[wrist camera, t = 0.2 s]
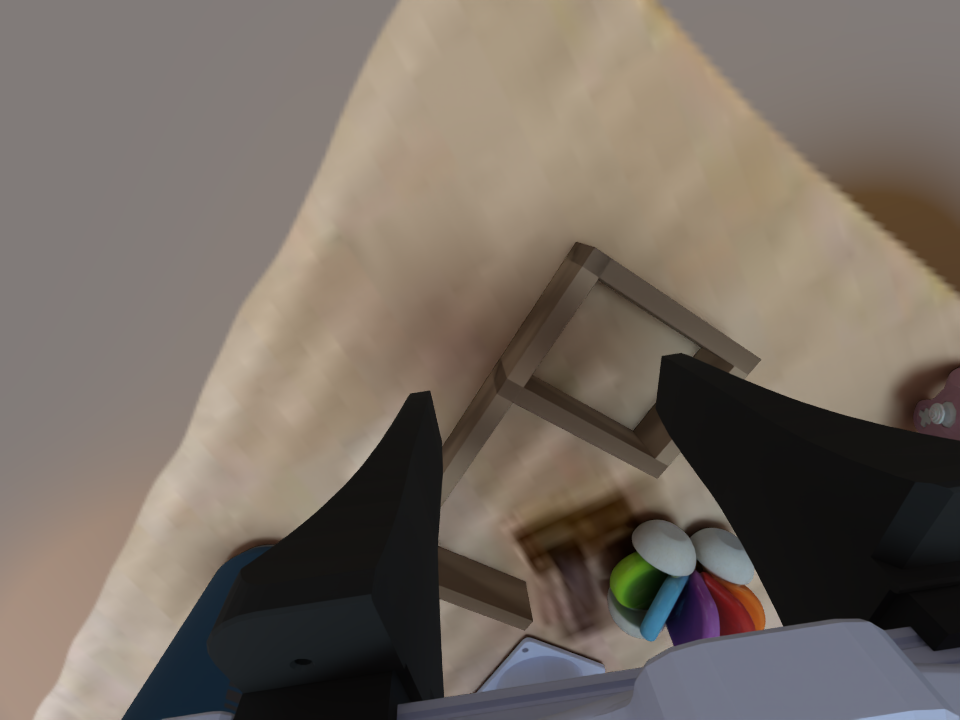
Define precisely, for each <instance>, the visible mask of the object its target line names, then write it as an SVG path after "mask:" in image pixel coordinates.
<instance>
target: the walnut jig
mask: <svg viewBox="0 0 960 720" xmlns="http://www.w3.org/2000/svg"><path fill="white" fill-rule="evenodd" d="M597 280H599V281H600V282H602V283H604V284H605V285H607V286H608V287H610V288H611V289H613V290H614V291H616V292H617V293H619V294H620V295H622V296H623V297H625V298H627V299H628V300H630V301H631V302H633V303H634V304H636V305H637V306H639V307H640V308H642V309H643V310H645V311H647V312H648V313H650V314H651V315H653V316H654V317H656V318H657V319H659V320H660V321H662V322H663V323H665V324H666V325H668V326H670V327H671V328H673V329H674V330H676V331H677V332H679V333H680V334H682V335H683V336H685V337H686V338H688V339H690V340H691V341H693V342H694V343H696V344H697V345H699V346H700V347H702V348H701V349H700V350H699V351H698V353H697V354H696V355H695V356H694V357H693V358H696V359H698V360H701V361H703V362H705V363H708V364H710V365H712V366H714V367H717V368H719V369H721V370H723V371H726V372H728V373H730V374H732V375H735V376H737V377H739V378H742V379H745V378H746V377H747V376H748V374H749V373H750V372H751V371H752V370H753V369H754V368H755V366H756V365H757V364H758V363H759V362H760V361H761V359H760V358H758V357H757V356H756V355H754V354H753V353H751V352H750V351H748V350H747V349H745V348H744V347H742V346H741V345H739V344H738V343H736V342H735V341H733V340H732V339H730V338H729V337H727V336H726V335H724V334H723V333H721V332H720V331H718V330H717V329H715V328H714V327H712V326H711V325H709V324H708V323H707V322H705V321H704V320H702V319H701V318H699V317H698V316H696V315H695V314H693V313H692V312H690V311H689V310H687V309H686V308H684V307H683V306H681V305H680V304H678V303H677V302H675V301H674V300H672V299H671V298H669V297H668V296H666V295H665V294H663V293H662V292H660V291H659V290H658V289H656V288H655V287H653V286H652V285H650V284H649V283H647V282H646V281H644V280H643V279H641V278H640V277H638V276H637V275H635V274H634V273H632V272H631V271H629V270H628V269H626V268H625V267H623V266H622V265H620V264H619V263H617V262H616V261H614V260H613V259H611V258H610V257H609V256H607V255H606V254H604V253H603V252H601V251H600V250H598V249H597V248H595V247H592V246H588V245H585V244H582V243H578V242H576V243H575V245H574V246H573V248H572V249H571V251H570V252H569V254H568V256H567V257H566V259H565V260H564V262H563V263H562V265H561V266H560V268H559V269H558V271H557V272H556V274H555V275H554V277H553V279H552V280H551V282H550V283H549V285H548V286H547V288H546V289H545V291H544V292H543V294H542V295H541V297H540V298H539V300H538V301H537V303H536V305H535V306H534V308H533V309H532V311H531V312H530V314H529V315H528V317H527V318H526V320H525V321H524V323H523V324H522V326H521V327H520V329H519V331H518V332H517V334H516V335H515V337H514V338H513V340H512V341H511V343H510V344H509V346H508V347H507V349H506V350H505V352H504V353H503V355H502V357H501V358H500V360H499V361H498V363H497V364H496V366H495V367H494V369H493V370H492V372H491V373H490V375H489V376H488V378H487V379H486V381H485V383H484V384H483V386H482V387H481V389H480V390H479V392H478V393H477V395H476V396H475V398H474V399H473V401H472V402H471V404H470V405H469V407H468V409H467V410H466V412H465V413H464V415H463V416H462V418H461V419H460V421H459V422H458V424H457V425H456V427H455V428H454V430H453V432H452V433H451V435H450V436H449V438H448V439H447V441H446V442H445V444H444V445H443V447H442V455H443V480H442V494H441V506H442V505H443V503H444V502H445V500H446V499H447V497H448V496H449V495H450V493H451V492H452V490H453V489H454V487H455V486H456V484H457V483H458V481H459V480H460V479H461V477H462V476H463V474H464V473H465V471H466V470H467V468H468V467H469V466H470V464H471V463H472V461H473V460H474V458H475V457H476V455H477V454H478V452H479V451H480V450H481V448H482V447H483V445H484V444H485V442H486V441H487V439H488V438H489V437H490V435H491V434H492V432H493V431H494V429H495V428H496V426H497V425H498V424H499V422H500V421H501V419H502V418H503V416H504V415H505V413H506V412H507V410H508V409H509V408H510V406H511V405H512V403H515V404H517V405H518V406H520V407H522V408H524V409H526V410H528V411H530V412H532V413H534V414H536V415H537V416H539V417H541V418H543V419H545V420H547V421H549V422H551V423H553V424H554V425H556V426H558V427H560V428H562V429H564V430H566V431H568V432H570V433H572V434H573V435H575V436H577V437H579V438H581V439H583V440H585V441H587V442H589V443H590V444H592V445H594V446H596V447H598V448H600V449H602V450H604V451H606V452H608V453H609V454H611V455H613V456H615V457H617V458H619V459H621V460H623V461H625V462H626V463H628V464H630V465H632V466H634V467H636V468H638V469H640V470H642V471H644V472H645V473H647V474H649V475H651V476H653V477H655V478H657V479H658V477H659V476H660V475H661V474H662V473H663V472H664V471H665V469H666V468H667V467H668V466H669V465H670V464H671V463H672V461H673V460H674V459H675V458H676V457H677V456H678V455H679V453H680V450H679V449H678V447H677V446H676V445H675V443H674V442H673V440H672V439H671V437H670V436H669V434H668V432H667V431H666V429H665V427H664V425H663V423H662V421H661V419H660V417H659V415H658V413H657V411H656V409H655V408H656V404H655V405H654V406H653V408H652V409H651V410H650V411H649V413H648V414H647V415H646V416H645V418H644V419H643V420H642V421H641V422H640V424H639V425H638V426H637V427H636V429H635V430H634V431H632V430H630V429H628V428H626V427H625V426H623V425H621V424H619V423H617V422H616V421H614V420H612V419H610V418H608V417H607V416H605V415H603V414H601V413H599V412H598V411H596V410H594V409H592V408H590V407H589V406H587V405H585V404H583V403H581V402H580V401H578V400H576V399H574V398H572V397H570V396H569V395H567V394H565V393H563V392H561V391H560V390H558V389H556V388H554V387H552V386H551V385H549V384H547V383H545V382H543V381H542V380H540V379H538V378H536V377H534V376H533V375H532V374H533V373H534V371H535V370H536V368H537V367H538V366H539V364H540V363H541V361H542V360H543V358H544V357H545V355H546V354H547V352H548V351H549V350H550V348H551V347H552V345H553V344H554V342H555V341H556V339H557V338H558V337H559V335H560V334H561V332H562V331H563V329H564V328H565V326H566V325H567V323H568V322H569V321H570V319H571V318H572V316H573V315H574V313H575V312H576V310H577V309H578V308H579V306H580V305H581V303H582V302H583V300H584V299H585V297H586V296H587V294H588V293H589V292H590V290H591V289H592V287H593V286H594V284H595V283H596V281H597ZM440 508H441V507H440ZM438 573H439V599H442V600H444V601H447V602H450V603H452V604H455V605H458V606H460V607H463V608H466V609H468V610H471V611H474V612H476V613H479V614H482V615H484V616H487V617H490V618H492V619H495V620H498V621H501V622H503V623H506V624H509V625H511V626H514V627H517V628H519V629H522V630H526V629H527V627H528V626H529V625H530V624H531V623H532V622H533V618H532V613H531V608H530V603H529V598H528V592H527V587H526V582H524V581H522V580H519V579H517V578H514V577H512V576H509V575H507V574H504V573H502V572H500V571H497V570H495V569H492V568H490V567H487V566H485V565H482V564H480V563H477V562H475V561H473V560H470V559H468V558H465V557H463V556H460V555H458V554H455V553H453V552H450V551H448V550H446V549H443V548H441V547H438Z"/></svg>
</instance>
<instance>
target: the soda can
mask: <svg viewBox="0 0 960 720" xmlns="http://www.w3.org/2000/svg"><path fill="white" fill-rule="evenodd" d="M273 546H274V545H261V546H257V547H254V548H251V549H249V550H247V551H245V552H243V553H241V554H239V555H237V556H235V557H233V558H232V559H230V560H229V561H227V562H226V563H225V564H223V565H222V566H221V567H220V568H219V569H218V571H217V572H216V574H215V575H214V577H213V578H212V580H211V581H210V583H209V585H208V586H207V588H206V589H205V591H204V592H203V594H202V595H201V597H200V599H199V600H198V602H197V603H196V605H195V606H194V608H193V609H192V611H191V612H190V614H189V616H188V617H187V619H186V620H185V622H184V623H183V625H182V626H181V628H180V630H179V631H178V633H177V634H176V636H175V637H174V639H173V640H172V642H171V643H170V645H169V647H168V648H167V650H166V651H165V653H164V654H163V656H162V657H161V659H160V661H159V662H158V664H157V665H156V667H155V668H154V670H153V671H152V673H151V675H150V676H149V678H148V679H147V681H146V682H145V684H144V685H143V687H142V688H141V690H140V692H139V693H138V695H137V696H136V698H135V699H134V701H133V702H132V704H131V706H130V707H129V709H128V710H127V712H126V713H125V715H124V716H123V718H122V720H162V719H166V718H173V717H179V716H186V715H192V714H199V713H205V712H212V711H224V712H230V713H232V714H234V715H235V713H236V710H237V707H238V704H239V702H240V699H241V696H242V692H241V691H240V690H239V689H238V688H237V687H236V686H235V685H234V684H233V683H232V682H231V681H230V680H229V679H228V678H227V677H226V675H225V674H224V673H223V672H222V671H221V670H220V669H219V668H218V667H217V666H216V665H215V664H214V662H213V661H212V659H211V658H210V656H209V654H208V652H207V643H206V642H207V639H208V637H209V635H210V633H211V631H212V628H213V626H214V624H215V622H216V620H217V617H218V615H219V613H220V611H221V609H222V606H223V604H224V602H225V600H226V597H227V595H228V593H229V590H230V588H231V586H232V585H233V583H234V581H235V579H236V577H237V575H238V573H239V571H240V570H241V568H243V567H244V566H246V565H247V564H249V563H250V562H252V561H253V560H254V559H256V558H257V557H259V556H260V555H262V554H263V553H264V552H266V551H267V550H269V549H270V548H271V547H273Z"/></svg>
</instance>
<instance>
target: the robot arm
mask: <svg viewBox="0 0 960 720" xmlns="http://www.w3.org/2000/svg"><path fill="white" fill-rule="evenodd" d="M655 409H656V411H657V413H658V415H659V417H660V419H661V421H662V423H663V425H664V427H665V429H666V431H667V432H668V434H669V436H670V437H671V439H672V440H673V442H674V443H675V445H676V446H677V447H678V449H679V450H680V452H681V453H682V454H683V456H684V457H685V458H686V460H687V461H688V463H689V464H690V465H691V467H692V468H693V469H694V471H695V472H696V474H697V475H698V476H699V478H700V479H701V480H702V482H703V483H704V484H705V486H706V487H707V489H708V490H709V491H710V493H711V494H712V495H713V497H714V498H715V500H716V501H717V503H718V504H719V506H720V507H721V509H722V511H723V513H724V514H725V516H726V518H727V519H728V521H729V523H730V525H731V526H732V528H733V530H734V532H735V533H736V535H737V537H738V538H739V540H740V542H741V544H742V546H743V548H744V550H745V551H746V553H747V555H748V557H749V559H750V561H751V562H752V564H753V566H754V568H755V570H756V572H757V574H758V576H759V578H760V580H761V582H762V584H763V586H764V588H765V590H766V592H767V594H768V596H769V598H770V600H771V602H772V604H773V605H774V607H775V609H776V612H777V614H778V616H779V618H780V620H781V622H782V625H783V627H778V628H771V629H765V630H758V631H752V632H745V633H739V634H732V635H725V636H719V637H712V638H706V639H699V640H695V641H692V642H688V643H684V644H681V645H677V646H674V647H670V648H668V649H666V650H665V651H663V652H661V653H660V654H658V655H656V656H654V657H653V658H651V659H649V660H648V661H647V662H646V664H645V665H644V667H641V668H635V669H628V670H621V671H615V672H608V673H605V667H604V665H603V664H601V663H598V662H595V661H593V660H590V659H587V658H585V657H582V656H579V655H576V654H574V653H571V652H568V651H566V650H563V649H560V648H558V647H555V646H552V645H549V644H547V643H544V642H541V641H539V640H536V639H533V638H530V637H527V638H525V639H523V640H522V641H521V643H520V644H519V645H518V646H517V647H516V648H515V649H514V651H513V652H512V653H511V654H510V655H509V656H508V657H507V658H506V660H505V661H504V662H503V663H502V664H501V665H500V666H499V668H498V669H497V670H496V671H495V672H494V673H493V674H492V676H491V677H490V678H489V679H488V680H487V681H486V682H485V683H484V685H483V686H482V687H481V688H480V689H479V690H478V691H477V693H471V694H464V695H458V696H451V697H445V698H444V688H443V671H442V651H441V629H440V604H439V573H438V534H439V521H440V507H441V494H442V480H443V455H442V440H441V436H440V431H439V427H438V423H437V418H436V414H435V409H434V405H433V401H432V396H431V392H430V391H424V392H417V393H411V394H410V395H409V396H408V398H407V399H406V401H405V403H404V405H403V406H402V408H401V410H400V411H399V413H398V415H397V416H396V418H395V420H394V421H393V423H392V425H391V426H390V428H389V429H388V431H387V432H386V434H385V435H384V437H383V438H382V440H381V441H380V443H379V444H378V445H377V447H376V448H375V449H374V451H373V452H372V453H371V455H370V456H369V457H368V459H367V460H366V461H365V463H364V464H363V465H362V466H361V467H360V469H359V470H358V471H357V472H356V473H355V474H354V476H353V477H352V478H351V479H350V480H349V481H348V482H347V483H346V484H345V485H344V486H343V487H342V488H341V489H340V490H339V491H338V492H337V493H336V494H335V495H334V496H333V497H332V498H331V499H330V500H329V501H328V502H327V503H326V504H325V505H324V506H323V507H321V508H320V509H319V510H318V511H317V512H316V513H315V514H314V515H312V516H311V517H310V518H309V519H308V520H306V521H305V522H304V523H303V524H302V525H300V526H299V527H298V528H297V529H295V530H294V531H293V532H292V533H290V534H289V535H288V536H286V537H285V538H284V539H283V540H281V541H280V542H279V543H277V544H276V545H274V546H273V547H271V548H270V549H269V550H267V551H266V552H264V553H263V554H262V555H260V556H259V557H257V558H256V559H254V560H253V561H252V562H250V563H249V564H247V565H246V566H244V567H243V568H241V570H240V571H239V573H238V575H237V577H236V579H235V581H234V583H233V585H232V586H231V588H230V590H229V593H228V595H227V597H226V600H225V602H224V604H223V606H222V609H221V611H220V613H219V615H218V617H217V620H216V622H215V624H214V626H213V628H212V631H211V633H210V635H209V637H208V639H207V642H206V643H207V652H208V654H209V656H210V658H211V659H212V661H213V662H214V664H215V665H216V666H217V667H218V668H219V669H220V670H221V671H222V672H223V673H224V674H225V675H226V677H227V678H228V679H229V680H230V681H231V682H232V683H233V684H234V685H235V686H236V687H237V688H238V689H239V690H240V691H241V692H242V696H241V699H240V702H239V704H238V707H237V710H236V713H235V715H234V714H232V713H230V712H224V711H212V712H205V713H199V714H192V715H186V716H179V717H173V718H166V719H162V720H960V440H954V439H948V438H943V437H938V436H933V435H928V434H922V433H917V432H912V431H907V430H903V429H898V428H894V427H889V426H885V425H881V424H877V423H873V422H869V421H865V420H861V419H857V418H853V417H849V416H846V415H842V414H839V413H835V412H832V411H829V410H825V409H822V408H819V407H816V406H813V405H810V404H806V403H803V402H801V401H798V400H795V399H792V398H789V397H787V396H784V395H781V394H779V393H776V392H773V391H771V390H768V389H766V388H763V387H761V386H758V385H756V384H753V383H751V382H749V381H746V380H744V379H742V378H739V377H737V376H735V375H732V374H730V373H728V372H726V371H723V370H721V369H719V368H717V367H714V366H712V365H710V364H708V363H705V362H703V361H701V360H698V359H696V358H693V357H691V356H688V355H685V354H682V353H679V354H672V355H666V356H662V358H661V366H660V375H659V383H658V392H657V400H656V408H655Z"/></svg>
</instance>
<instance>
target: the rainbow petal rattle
mask: <svg viewBox="0 0 960 720" xmlns="http://www.w3.org/2000/svg"><path fill="white" fill-rule="evenodd" d="M632 543H633V545H634V547H635V549H636V552H634V553H632V554H630V555H628V556H627V557H625V558H624V559H622V560H621V561H620V562H619V563H618V564H617V565H616V566H615V567H614V569H613V571H612V573H611V576H610V588H609V590H608V596H607V601H608V608H609V611H610V614H611V616H612V618H613V620H614V621H615V623H616V624H617V625H618V626H619V627H620V628H621V629H622V630H623V631H624V632H626V633H627V634H629V635H631V636H633V637H636V638H642V639H646V640H648V641H654V640H655V639H656V638H657V636H658V634H659V633H660V632H661V631H662V630H663V629H664V627H665V626H666V627H667V629H668V631H669V634H670V637H671V640H672V642H673V645H674V646H677V645H681V644H684V643H688V642H692V641H695V640H699V639H706V638H712V637H719V636H725V635H732V634H739V633H745V632H752V631H758V630H764V627H765V614H764V610H763V607H762V605H761V602H760V601H759V599H758V598H757V597H756V596H755V594H754V593H753V592H752V591H751V590H750V589H749V588H748V587H746V586H745V584H748V583H750V582H751V580H752V579H753V575H754V566H753V564H752V562H751V561H750V559H749V557H748V555H747V553H746V551H745V550H744V548H743V546H742V544H741V542H740V540H739V538H738V537H736V536H735V535H733V534H732V533H730V532H728V531H725V530H723V529H718V528H706V529H702V530H700V531H698V532H696V533H694V534H693V535H692V536H691V537H690V538H689V537H688V536H687V534H686V533H685V532H684V531H683V530H682V529H680V528H679V527H678V526H676V525H675V524H673V523H670V522H668V521H664V520H650V521H646V522H644V523H642V524H641V525H639V526H638V527H637V528H636V529H635V530H634V532H633V534H632Z"/></svg>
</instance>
